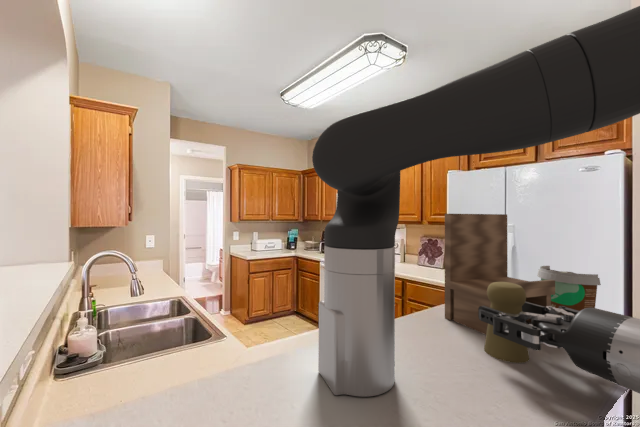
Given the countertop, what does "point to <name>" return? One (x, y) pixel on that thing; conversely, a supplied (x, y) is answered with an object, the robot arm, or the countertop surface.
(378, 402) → the countertop surface
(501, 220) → the wooden chair
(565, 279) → the food container
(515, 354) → the cork
